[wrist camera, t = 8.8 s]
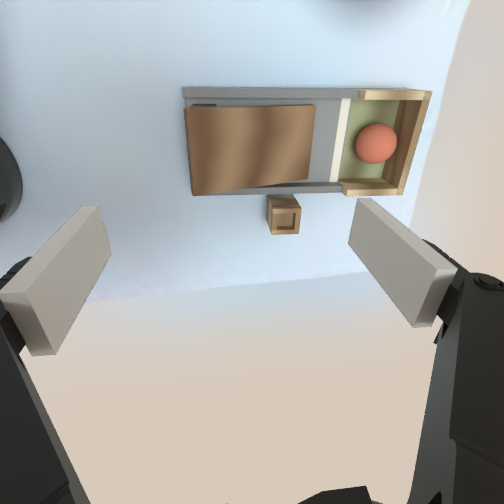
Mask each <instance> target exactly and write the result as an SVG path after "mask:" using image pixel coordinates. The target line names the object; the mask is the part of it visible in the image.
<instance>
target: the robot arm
mask: <svg viewBox="0 0 504 504" xmlns="http://www.w3.org/2000/svg"><path fill="white" fill-rule="evenodd" d="M21 194H22V181H21V176H20V172H19V169H18V166H17V164H16V161H15V159H14V157H13V155H12V154H11V152H10V150H9V149H8V147H7V146H6V144H5V143H4V142H3V141H2V139H1V138H0V223H1V222H3V221H4V220H5V219H7V218H8V217H9V216H10V215H12V213H13V212H14V211H15V210H16V208H17V206H18V204H19V202H20V199H21ZM348 244H349V246H350V247H351V248H352V250H353V251H354V252H355V253H356V255H357V256H358V257H359V259H360V260H361V261H362V263H363V264H364V265H365V266H366V268H367V269H368V270H369V272H370V273H371V274H372V275H373V276H374V278H375V279H376V280H377V282H378V283H379V284H380V286H381V287H382V288H383V290H384V291H385V292H386V294H387V295H388V296H389V297H390V299H391V300H392V301H393V303H394V304H395V305H396V307H397V308H398V309H399V310H400V312H401V313H402V314H403V315H404V317H405V318H406V319H407V321H408V322H409V323H410V325H411V326H412V327H413V328H418V327H431V326H432V324H433V322H434V319H435V317H436V315H438V316H439V317H440V318H441V319H442V321H443V324H442V326H441V328H440V330H439V332H438V334H437V336H436V339H435V340H434V343H435V344H437V349H436V354H435V360H434V365H433V371H432V376H431V382H430V387H429V393H428V399H427V405H426V410H425V415H424V421H423V426H422V433H421V438H420V443H419V449H418V454H417V460H416V465H415V471H414V477H413V482H412V488H411V492H410V496H409V499H408V502H407V504H504V282H502V281H501V280H499V279H497V278H495V277H492V276H490V275H487V274H482V273H470V272H468V271H467V270H466V269H465V268H463V267H462V266H461V265H460V264H458V263H457V262H456V261H455V260H453V259H452V258H449V256H448V255H447V254H446V253H444V252H442V250H441V249H439V248H438V247H437V246H435V245H434V244H432V243H430V242H428V241H426V240H424V239H421V238H420V237H418V236H417V235H416V234H415V233H413V232H412V231H411V230H410V229H408V228H407V227H406V226H405V225H404V224H402V223H401V222H400V221H399V220H397V219H396V218H395V217H394V216H393V215H391V214H390V213H389V212H388V211H386V210H385V209H384V208H383V207H381V206H380V205H379V204H378V203H377V202H375V201H374V200H373V199H372V198H357V202H356V207H355V212H354V217H353V221H352V226H351V231H350V236H349V240H348ZM111 254H112V253H111V249H110V246H109V242H108V238H107V235H106V231H105V227H104V224H103V220H102V216H101V213H100V209H99V206H82V207H81V208H80V209H79V210H78V211H77V212H76V213H75V214H74V215H73V216H72V217H71V218H70V219H69V220H68V221H67V222H66V223H65V224H64V225H63V226H62V227H61V228H60V229H59V230H58V231H57V232H56V233H55V234H54V235H53V236H52V238H51V239H50V240H49V241H48V242H47V243H46V244H45V245H44V246H43V247H42V248H41V249H40V250H39V251H38V252H37V253H36V254H35V255H34V256H33V257H27V258H25V259H23V260H22V261H20V262H18V263H16V264H15V265H14V266H13V267H12V268H11V269H10V270H9V271H8V272H7V274H5V275H4V276H3V277H2V278H1V279H0V504H90V501H89V499H88V497H87V496H86V493H85V491H84V489H83V487H82V485H81V483H80V481H79V478H78V476H77V474H76V472H75V470H74V468H73V466H72V464H71V462H70V459H69V458H68V455H67V453H66V451H65V449H64V447H63V445H62V443H61V441H60V439H59V436H58V434H57V432H56V430H55V428H54V426H53V424H52V422H51V420H50V417H49V415H48V414H47V411H46V409H45V408H44V405H43V403H42V401H41V399H40V397H39V394H38V393H37V390H36V388H35V386H34V384H33V382H32V380H31V378H30V375H29V373H28V371H27V369H26V367H25V365H24V363H23V361H22V359H21V357H20V356H19V353H20V352H21V350H22V349H23V347H24V346H25V345H26V346H27V348H28V350H29V352H30V354H31V355H32V356H43V355H56V353H57V351H58V349H59V348H60V346H61V344H62V342H63V340H64V339H65V337H66V335H67V333H68V331H69V330H70V328H71V326H72V324H73V323H74V321H75V319H76V317H77V315H78V314H79V312H80V310H81V308H82V306H83V305H84V303H85V301H86V299H87V297H88V296H89V294H90V292H91V290H92V288H93V287H94V285H95V283H96V281H97V279H98V278H99V276H100V274H101V272H102V270H103V269H104V267H105V265H106V263H107V261H108V260H109V258H110V256H111ZM298 504H382V503H379V502H376V501H372V500H371V499H370V496H369V493H368V490H367V487H366V486H360V487H352V488H345V489H336V490H329V491H322V492H320V493H318V494H316V495H314V496H312V497H310V498H308V499H306V500H304V501H302V502H300V503H298Z"/></svg>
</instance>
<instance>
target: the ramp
mask: <svg viewBox="0 0 504 504" xmlns="http://www.w3.org/2000/svg"><path fill="white" fill-rule="evenodd" d="M315 114H316V105H312V104H306V105H276V106H247V107H217V108H216V104H193V105H192V106H191V108H187V109H184V118H185V129H186V139H187V150H188V160H189V170H190V181H191V191H192V194H193V195H194V196H200V195H207V194H213V193H220V192H227V191H233V190H240V189H247V188H254V187H260V186H267V185H274V184H280V183H287V182H294V181H300V180H307V179H308V175H309V166H310V158H311V149H312V140H313V131H314V123H315Z"/></svg>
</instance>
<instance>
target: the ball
mask: <svg viewBox="0 0 504 504" xmlns="http://www.w3.org/2000/svg"><path fill="white" fill-rule="evenodd" d="M396 145H397V137H396V134H395V132H394V130H393V129H392V128H391V127H390V126H388V125H386V124H382V123H376V124H372V125H369V126H368V127H366V128H365V129H363V130H362V131H361V133H360V134H359V136H358V138H357V140H356V152H357V155H358V156H359V158H360V159H361V160H363V161H364V162H366V163H369V164H378V163H381V162H384V161H385V160H387V159H388V158H389V157H390V156H391V155H392V154H393V152H394V151H395V149H396Z"/></svg>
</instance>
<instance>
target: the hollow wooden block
mask: <svg viewBox="0 0 504 504" xmlns="http://www.w3.org/2000/svg"><path fill="white" fill-rule="evenodd" d="M300 217H301V207H300V205H299V204H298V202H297V200H296V199H295V197H294V196H293V195H267V214H266V220H267V222H268V225H269V228H270V231H271V234H272V235H278V234H299V227H300Z"/></svg>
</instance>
